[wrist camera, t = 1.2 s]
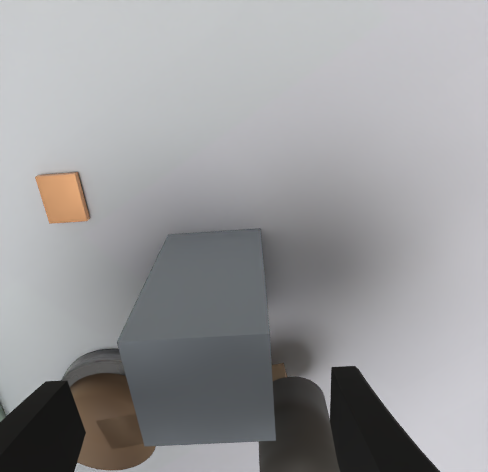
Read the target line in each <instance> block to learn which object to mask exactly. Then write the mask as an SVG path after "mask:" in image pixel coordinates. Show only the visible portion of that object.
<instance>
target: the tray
mask: <svg viewBox="0 0 488 472" xmlns="http://www.w3.org/2000/svg"><path fill="white" fill-rule="evenodd" d="M5 417H6V415H5V413H4V411H3V409H2V407H1V405H0V422H1V421H2V420H3V419H4V418H5Z"/></svg>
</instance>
